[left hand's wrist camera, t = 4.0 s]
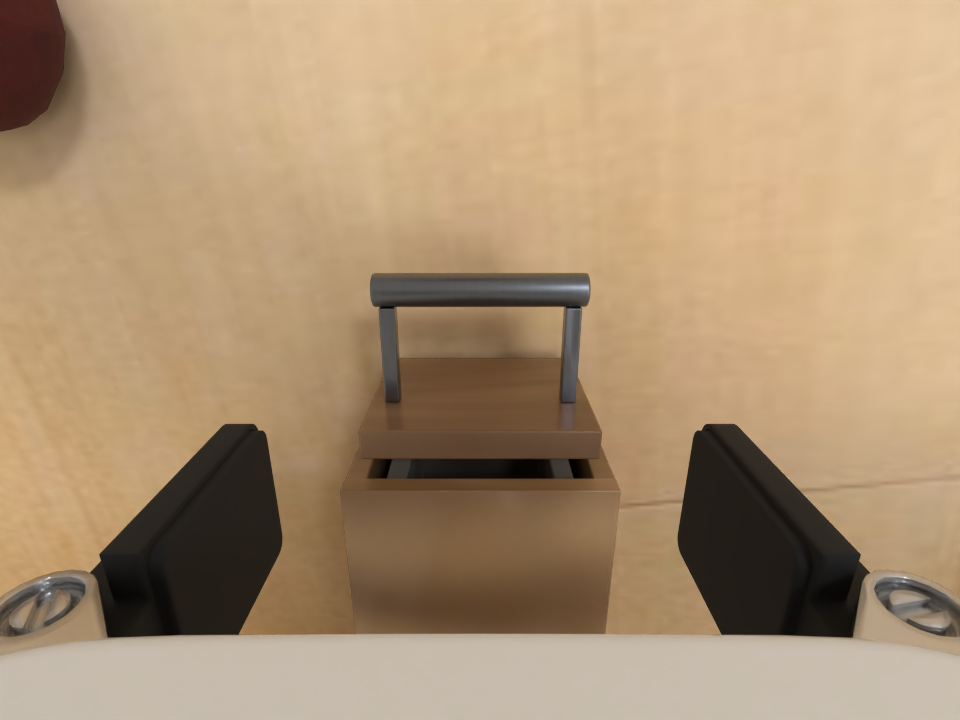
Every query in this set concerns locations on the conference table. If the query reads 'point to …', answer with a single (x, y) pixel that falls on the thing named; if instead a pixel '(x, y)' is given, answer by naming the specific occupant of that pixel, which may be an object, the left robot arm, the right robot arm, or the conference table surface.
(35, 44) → the potato
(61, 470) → the conference table surface
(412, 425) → the drawer
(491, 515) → the cabinet
